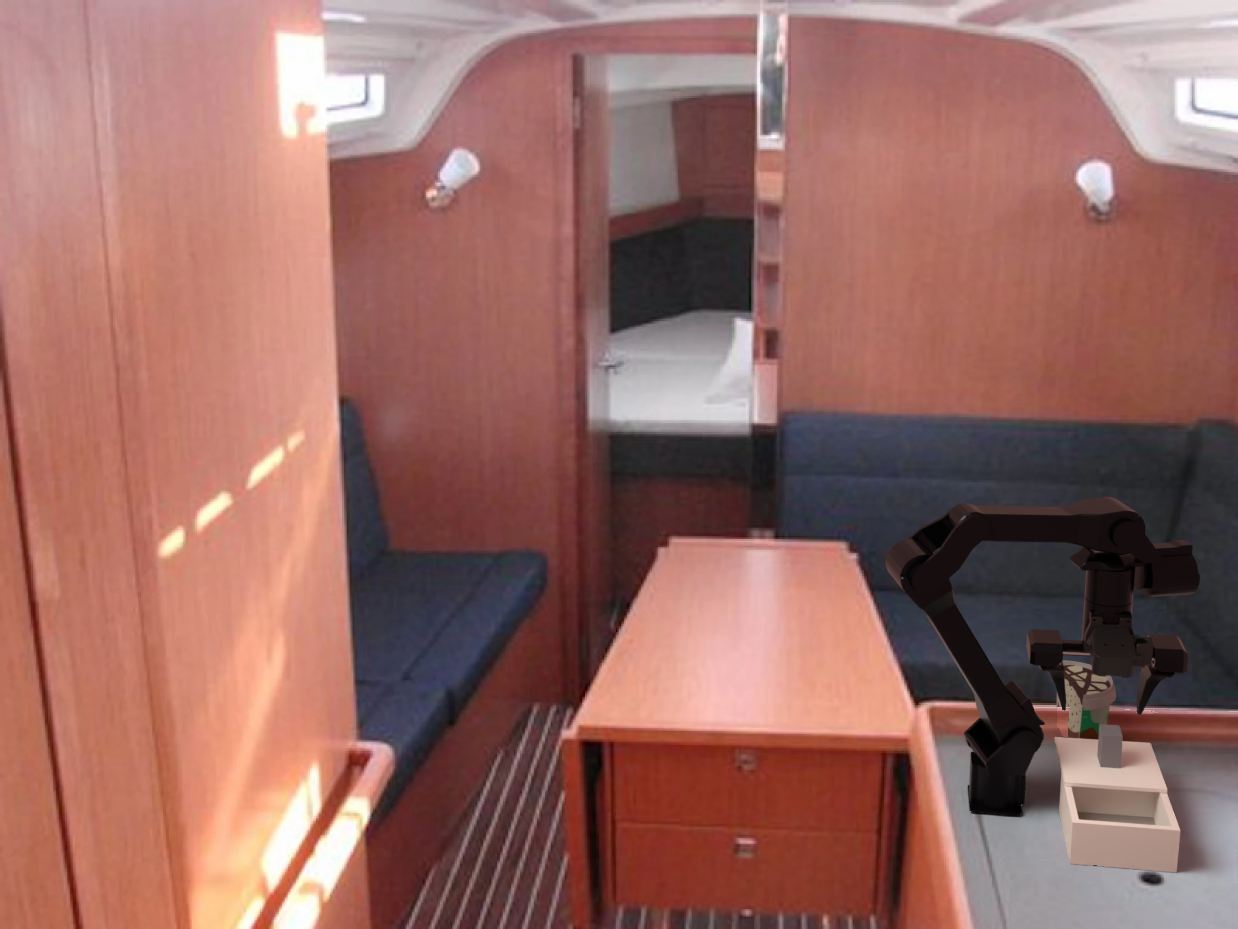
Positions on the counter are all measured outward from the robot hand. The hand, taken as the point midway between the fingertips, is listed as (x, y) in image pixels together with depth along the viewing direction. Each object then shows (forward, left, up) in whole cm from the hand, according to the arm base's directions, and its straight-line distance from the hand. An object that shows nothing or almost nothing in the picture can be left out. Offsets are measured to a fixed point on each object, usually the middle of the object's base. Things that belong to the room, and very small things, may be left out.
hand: (1100, 711), depth 168 cm
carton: (+1, -11, -12) cm, 16 cm away
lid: (+1, -3, -6) cm, 7 cm away
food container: (+1, +15, -12) cm, 19 cm away
